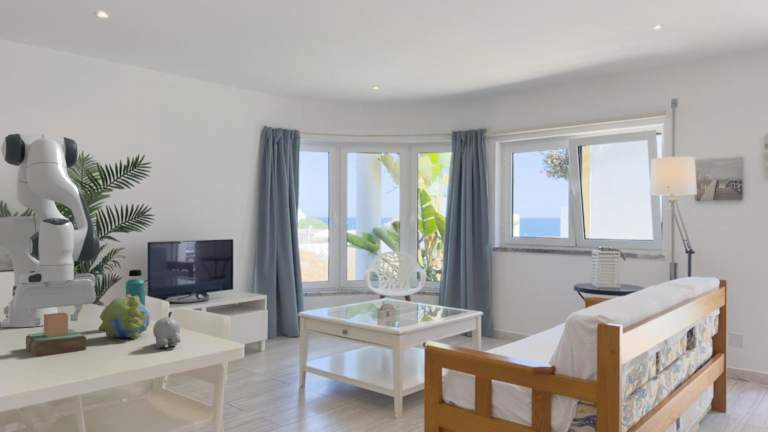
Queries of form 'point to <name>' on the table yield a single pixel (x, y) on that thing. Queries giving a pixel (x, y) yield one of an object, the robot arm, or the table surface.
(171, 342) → the round bodied animal figurine
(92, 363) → the table surface
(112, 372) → the table surface
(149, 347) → the table surface
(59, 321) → the terracotta block
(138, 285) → the beverage bottle
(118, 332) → the earth globe model
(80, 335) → the green lidded wooden box
